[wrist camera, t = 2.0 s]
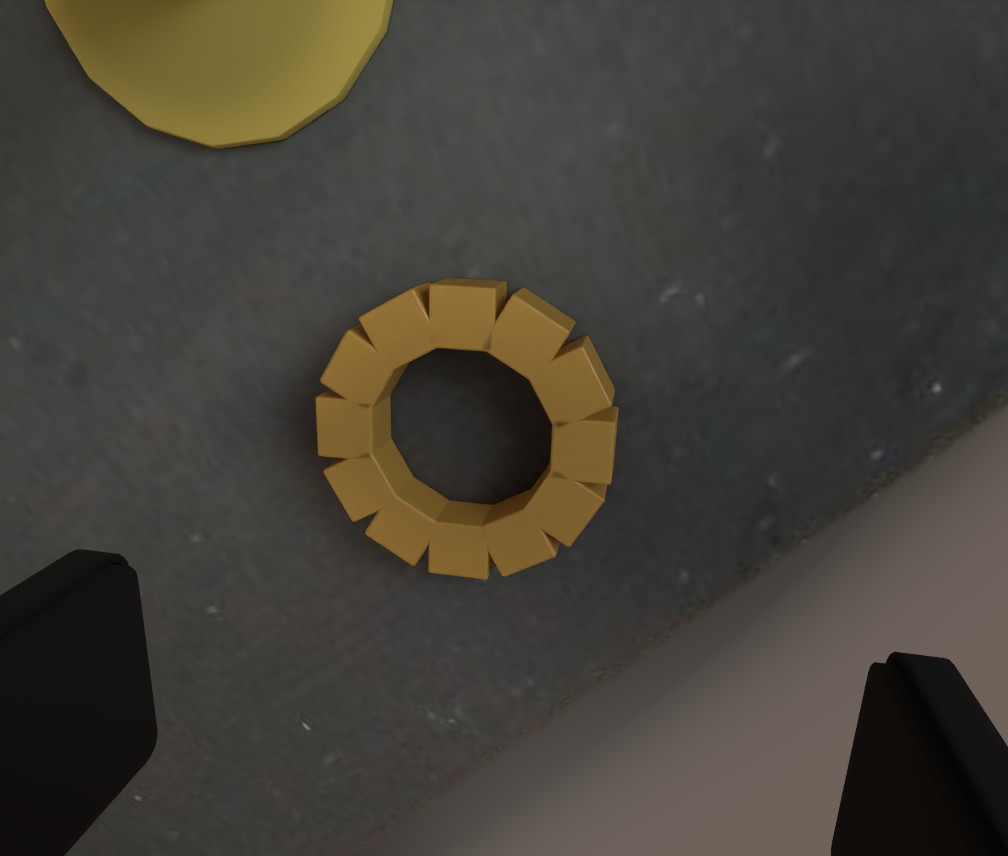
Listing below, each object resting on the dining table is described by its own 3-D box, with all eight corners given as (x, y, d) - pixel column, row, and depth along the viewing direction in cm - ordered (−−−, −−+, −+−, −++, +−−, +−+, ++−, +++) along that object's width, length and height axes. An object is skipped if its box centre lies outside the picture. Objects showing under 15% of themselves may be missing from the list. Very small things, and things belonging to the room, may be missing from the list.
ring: (677, 388, 20) (678, 403, 18) (516, 601, 22) (507, 630, 21) (423, 219, 20) (404, 221, 18) (294, 453, 22) (268, 472, 21)
